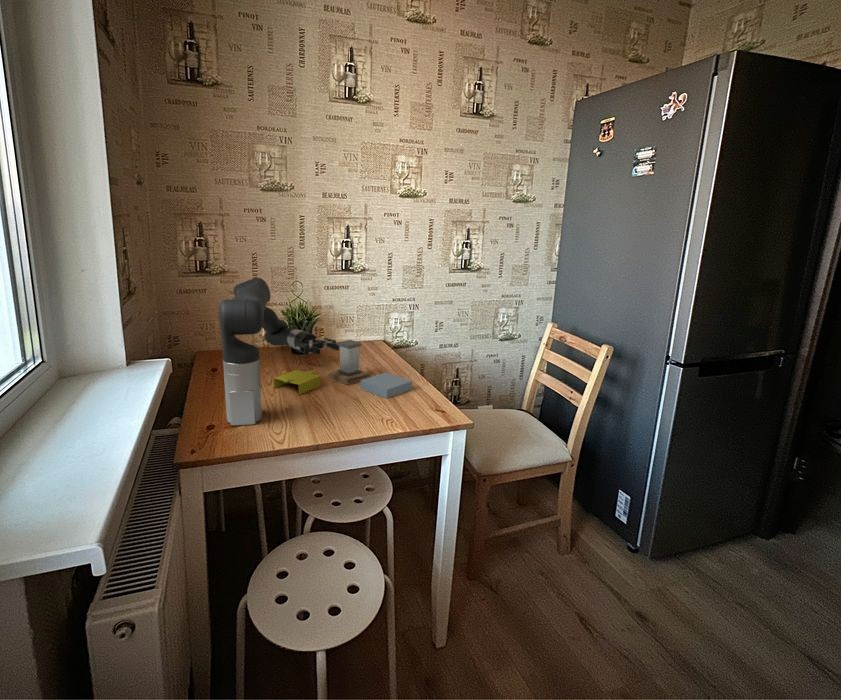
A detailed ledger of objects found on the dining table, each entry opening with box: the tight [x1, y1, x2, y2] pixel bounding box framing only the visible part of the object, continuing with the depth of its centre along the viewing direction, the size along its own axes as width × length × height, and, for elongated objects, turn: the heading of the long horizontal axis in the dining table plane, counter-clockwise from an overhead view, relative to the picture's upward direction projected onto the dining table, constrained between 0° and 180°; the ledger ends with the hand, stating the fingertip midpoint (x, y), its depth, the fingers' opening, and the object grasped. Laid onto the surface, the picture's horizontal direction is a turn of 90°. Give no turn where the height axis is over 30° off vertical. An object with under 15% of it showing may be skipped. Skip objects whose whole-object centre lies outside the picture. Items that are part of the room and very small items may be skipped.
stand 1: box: [328, 369, 371, 386], centre depth 171 cm, size 10×10×2 cm
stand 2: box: [360, 372, 413, 400], centre depth 162 cm, size 12×12×3 cm
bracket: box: [273, 369, 321, 396], centre depth 161 cm, size 16×8×15 cm
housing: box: [337, 339, 362, 377], centre depth 169 cm, size 6×6×11 cm
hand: (329, 349), depth 176 cm, fingers open, 8 cm apart
